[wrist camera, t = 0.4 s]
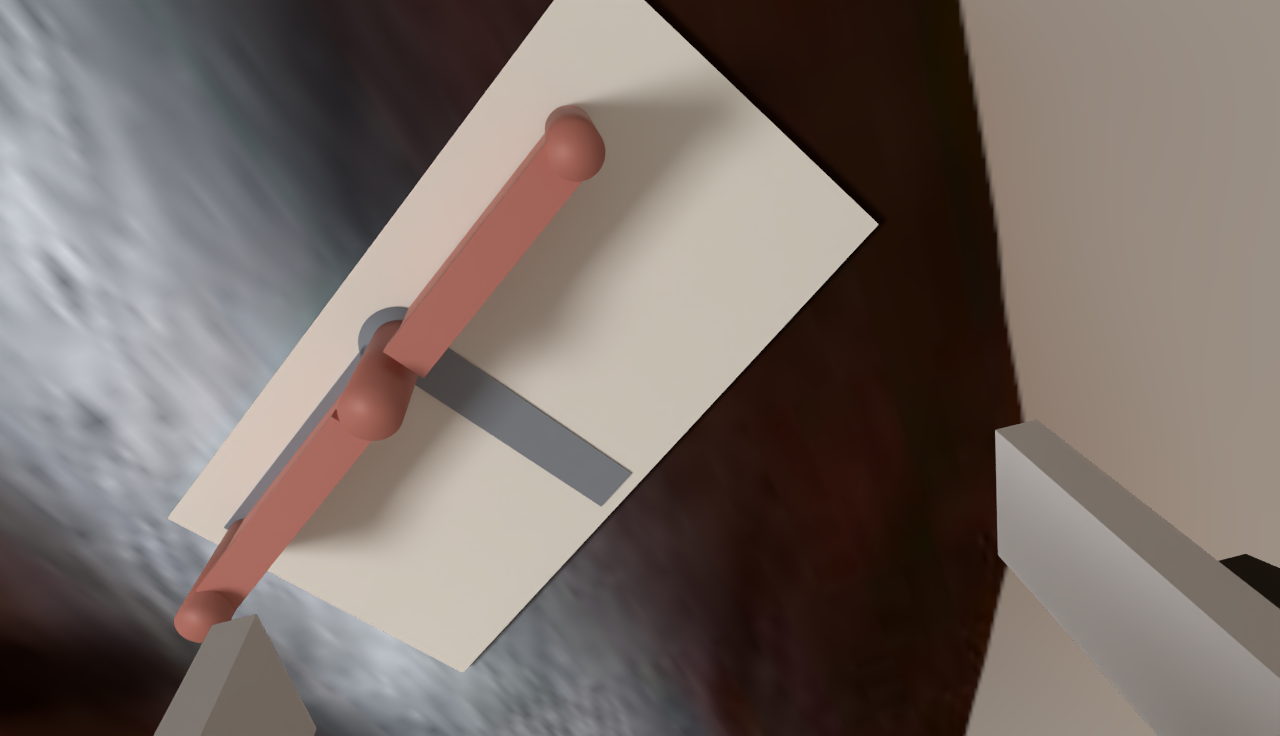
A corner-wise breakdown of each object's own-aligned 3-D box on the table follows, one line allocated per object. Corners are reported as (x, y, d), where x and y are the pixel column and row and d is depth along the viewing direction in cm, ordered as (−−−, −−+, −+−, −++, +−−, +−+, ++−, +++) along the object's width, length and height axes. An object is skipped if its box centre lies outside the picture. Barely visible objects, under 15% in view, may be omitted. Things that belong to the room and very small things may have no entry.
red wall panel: (441, 330, 36) (422, 388, 30) (402, 303, 35) (376, 358, 29) (602, 127, 33) (617, 148, 27) (565, 94, 33) (571, 109, 27)
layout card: (171, 512, 39) (166, 519, 38) (590, -50, 31) (591, -51, 31) (463, 666, 44) (462, 674, 44) (874, 221, 37) (879, 224, 37)
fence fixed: (216, 536, 39) (153, 636, 32) (392, 308, 35) (360, 371, 29) (261, 560, 40) (209, 662, 33) (437, 340, 36) (416, 407, 30)
